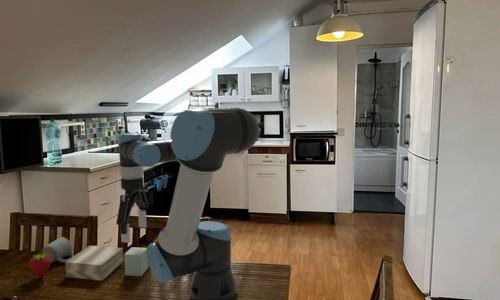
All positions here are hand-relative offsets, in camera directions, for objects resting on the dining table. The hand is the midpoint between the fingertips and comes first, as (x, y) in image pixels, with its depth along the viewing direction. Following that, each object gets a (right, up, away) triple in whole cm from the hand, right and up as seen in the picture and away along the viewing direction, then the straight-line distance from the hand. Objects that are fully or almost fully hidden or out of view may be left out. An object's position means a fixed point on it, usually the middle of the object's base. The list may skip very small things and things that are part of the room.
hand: (134, 234), depth 123 cm
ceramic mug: (-33, -13, +12) cm, 38 cm away
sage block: (0, -14, +2) cm, 14 cm away
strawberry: (-32, -15, -2) cm, 36 cm away
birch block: (-16, -14, +4) cm, 22 cm away
